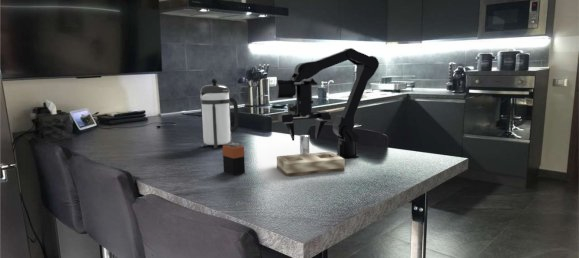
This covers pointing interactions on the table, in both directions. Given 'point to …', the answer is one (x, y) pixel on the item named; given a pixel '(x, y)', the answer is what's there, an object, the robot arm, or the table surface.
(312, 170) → the bore block
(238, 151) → the battery
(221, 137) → the coffee press
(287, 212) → the table surface
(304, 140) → the pin
